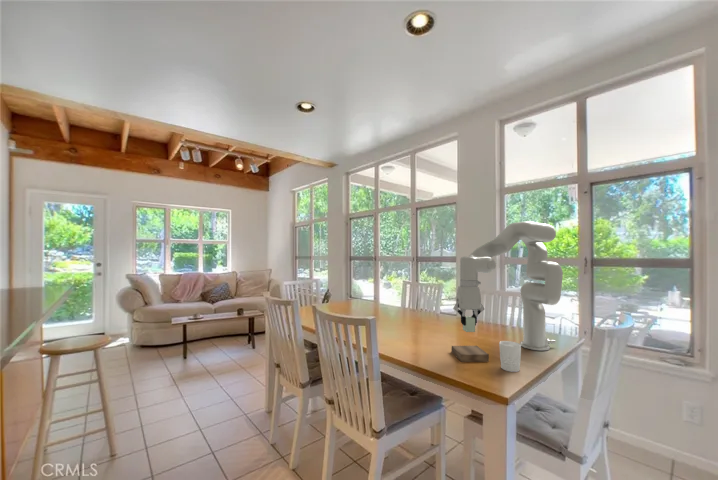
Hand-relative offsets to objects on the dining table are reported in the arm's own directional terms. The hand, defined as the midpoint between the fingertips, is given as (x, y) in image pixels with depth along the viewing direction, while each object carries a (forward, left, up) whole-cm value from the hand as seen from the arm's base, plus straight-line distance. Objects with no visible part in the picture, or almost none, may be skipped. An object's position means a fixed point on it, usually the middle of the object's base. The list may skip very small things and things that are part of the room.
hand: (468, 324), depth 136 cm
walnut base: (0, 0, -14) cm, 14 cm away
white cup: (-11, +14, -15) cm, 23 cm away
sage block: (0, 0, -3) cm, 3 cm away
